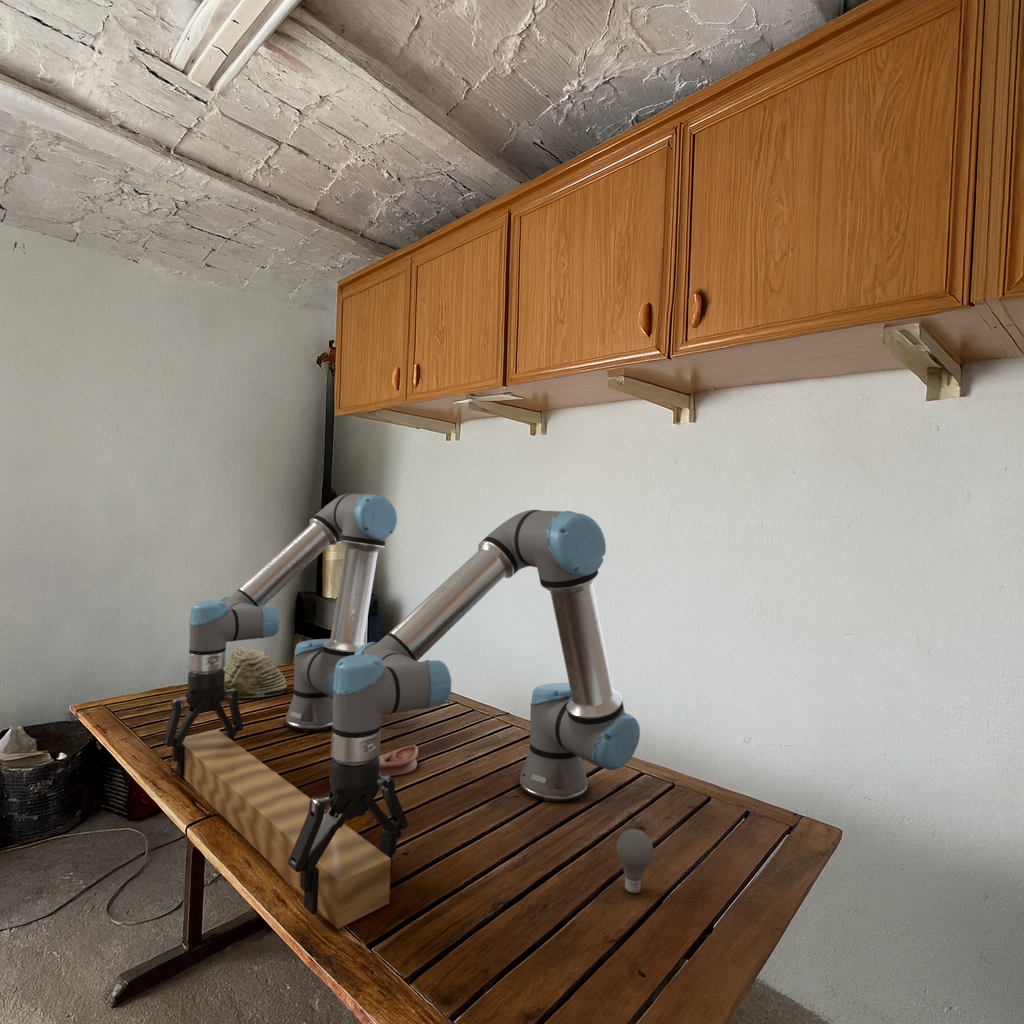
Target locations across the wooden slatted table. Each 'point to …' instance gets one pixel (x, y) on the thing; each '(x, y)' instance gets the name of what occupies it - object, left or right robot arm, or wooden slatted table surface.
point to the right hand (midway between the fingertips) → (349, 891)
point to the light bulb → (634, 857)
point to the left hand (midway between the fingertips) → (203, 768)
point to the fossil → (253, 674)
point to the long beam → (285, 826)
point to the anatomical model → (398, 761)
